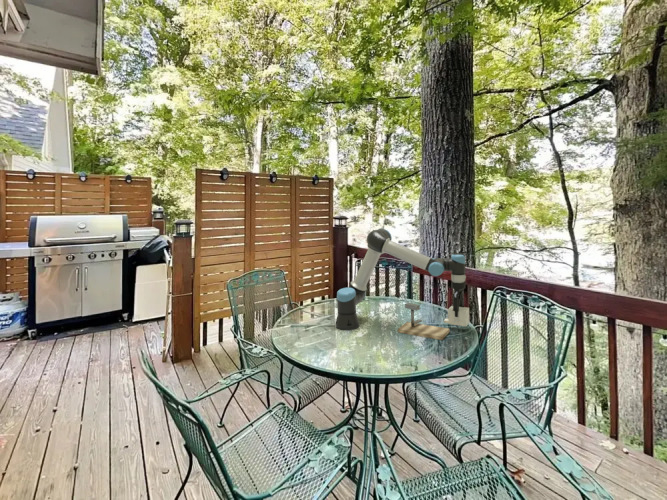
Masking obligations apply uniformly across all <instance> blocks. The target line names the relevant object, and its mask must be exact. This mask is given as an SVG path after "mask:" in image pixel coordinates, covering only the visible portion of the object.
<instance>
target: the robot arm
mask: <svg viewBox="0 0 667 500" xmlns="http://www.w3.org/2000/svg"><path fill="white" fill-rule="evenodd" d="M392 239H393V238H392V234H391V233H390V231H389V230H387V229H386V228H378V229H374V230H372V231H370V232H369V233H368V234H367V237H366V243H367V245H366V247H367V251H366V253H365V256H364V258H363V260H362V262H361V265H360V266H359V269H358V271H357V272H356V276H355V278H354V280H352V281H350V282H349V283H350V284H349V286H348V287H343V288H340V289H339V290H338V291H337V292H336V305H337V317H336V320H335V328H336V329H339V330H344V331H348V330H350V331H351V330H357V328H359V327H360V320H359V318H358V314H357V305H358V304H360V303H361V302H363V301H364V300H365V298H366V295H367V290H368V288H367V285H368V283H369V281H370V278H371V276H372V274H373V273H374V269H375V268H376V266H377V263H378V261H379V260H380V258H381V255H383V254H385V253H386V254H388V255H390V256H393V257H395V258H397V259H398V260H401V261H404V262H406V263H407V264H408V263H409V264H411V265H412V266H415V267H416V268H420V269H422V270H424V271H426V272H428V273H429V274H430V275H431V276H432V277H439V276H440V275H442V274H443V273H444V272H451V274H450V276H451V277H450V278H451V288H452V289H454V291H453V293H452V297H453V298H452V301H453V303H452V306H453V311H454V322H459V307H465V302H464V297H465V296H464V292H465V291H464V290H465V289H466V278H467V276H466V257H465V255H463V254H452V255H451V256H450V257H448V258H447V257H446V258H445V257H443V258H442V257H429V256H427V255H424V254H423V253H421V252H418V251H415V250H414V249H410V248H409V247H406V246H404V245H401V244H399V243H397V242H395V241H392Z"/></svg>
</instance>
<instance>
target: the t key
mask: <svg viewBox="0 0 667 500" xmlns="http://www.w3.org/2000/svg"><path fill="white" fill-rule="evenodd" d="M404 309H407V310H410V323H411V327H414V325H415V324H421V323H422V322H423V319H420V318H419V319H416V320H415V311H419V310H420V309H421V305H420V304H417V303H411V302H407V303H404Z"/></svg>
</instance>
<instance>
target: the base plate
mask: <svg viewBox="0 0 667 500" xmlns="http://www.w3.org/2000/svg"><path fill="white" fill-rule="evenodd" d="M450 332H451V331H450V328H447V327H443V326H442V327H440V326H435V325H428V324H423V323H417V324H415V325H414V327H411V321H410V322H409V321H406V322H405V323H404V324H402V325H401V326H400V327H398V328H397V333H401V334H405V335H411V336H416V337H417V336H418V337H423V338H426V339H427V338H428V339H432V340H433V339H435V340H440V341H443V340H444V339H445V338H446V337H447V335H448V334H449V333H450Z"/></svg>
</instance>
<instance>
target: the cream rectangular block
mask: <svg viewBox="0 0 667 500" xmlns="http://www.w3.org/2000/svg"><path fill="white" fill-rule="evenodd" d="M447 309H448V310H447V313H448V315H447V316H448V317H446V318H445V319H444V320H443V323H445V324H448V325H455V326H461V327H467V326H468V325H469V324H470V307H465V306H464V307H459V322H454V311H453V305H451V306H450V307H449V308H447Z"/></svg>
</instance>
